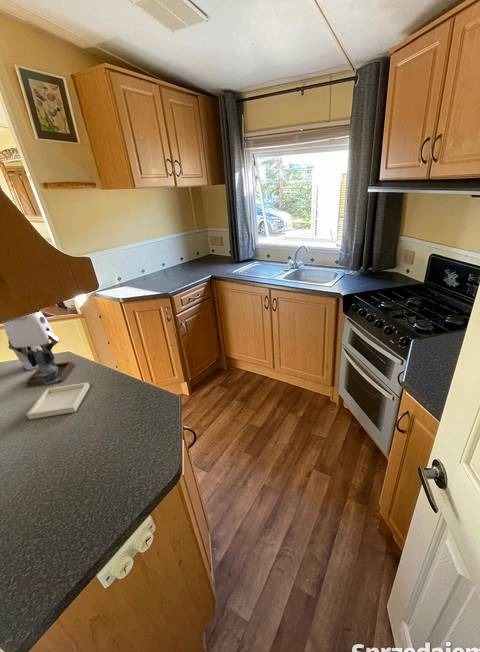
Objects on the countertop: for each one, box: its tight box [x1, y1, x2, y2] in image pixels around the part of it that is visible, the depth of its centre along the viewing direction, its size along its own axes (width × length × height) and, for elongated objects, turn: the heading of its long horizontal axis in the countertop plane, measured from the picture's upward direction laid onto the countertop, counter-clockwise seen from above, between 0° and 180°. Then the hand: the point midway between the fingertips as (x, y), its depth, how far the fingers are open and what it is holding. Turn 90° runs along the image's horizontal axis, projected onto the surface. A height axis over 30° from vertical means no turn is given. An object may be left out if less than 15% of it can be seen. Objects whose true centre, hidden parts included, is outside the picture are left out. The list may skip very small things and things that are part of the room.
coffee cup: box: [7, 339, 42, 371], centre depth 119 cm, size 9×9×15 cm
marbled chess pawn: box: [34, 348, 61, 386], centre depth 92 cm, size 6×6×12 cm
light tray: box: [26, 382, 91, 420], centre depth 99 cm, size 14×14×2 cm
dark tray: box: [25, 361, 74, 388], centre depth 114 cm, size 12×12×2 cm
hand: (43, 362), depth 92 cm, fingers closed on marbled chess pawn, 3 cm apart
